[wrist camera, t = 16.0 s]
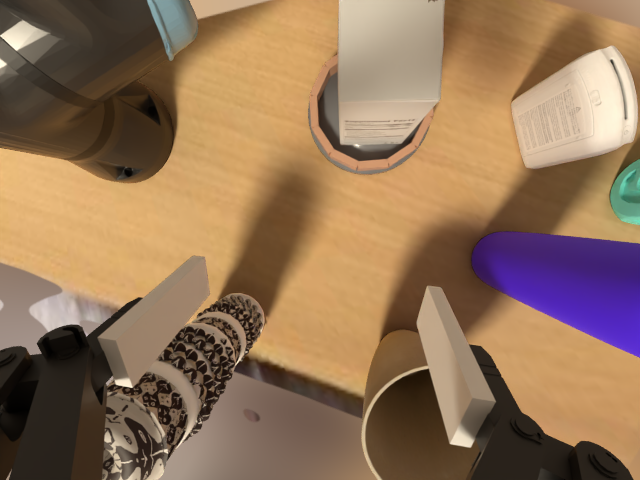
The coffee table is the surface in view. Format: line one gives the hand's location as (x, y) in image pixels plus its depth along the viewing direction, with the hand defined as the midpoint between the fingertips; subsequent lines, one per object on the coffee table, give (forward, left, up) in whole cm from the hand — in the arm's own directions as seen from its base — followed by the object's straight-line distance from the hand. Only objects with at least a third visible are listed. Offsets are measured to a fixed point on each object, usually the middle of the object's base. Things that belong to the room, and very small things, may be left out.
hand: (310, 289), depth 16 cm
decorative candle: (-7, -17, -25) cm, 31 cm away
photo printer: (+18, +26, -25) cm, 40 cm away
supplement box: (-3, +19, -24) cm, 31 cm away
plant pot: (+18, -10, -25) cm, 32 cm away
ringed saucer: (-3, +19, -24) cm, 31 cm away
